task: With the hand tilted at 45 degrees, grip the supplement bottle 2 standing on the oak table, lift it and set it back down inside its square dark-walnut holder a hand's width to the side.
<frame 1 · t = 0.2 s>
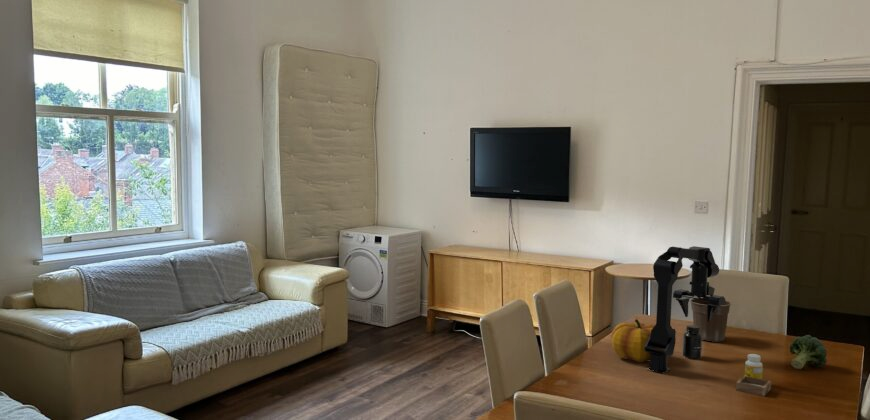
hand: (697, 319, 257), 14 cm above the table, tool pointing down, fingers open, 9 cm apart
decorative pumpkin: (638, 358, 255), on the table
supplement bottle 2: (753, 383, 227), on the table
plant pot: (708, 339, 283), on the table
vegetable: (806, 367, 245), on the table
walnut holder: (753, 389, 220), on the table
supplement bottle: (691, 357, 256), on the table
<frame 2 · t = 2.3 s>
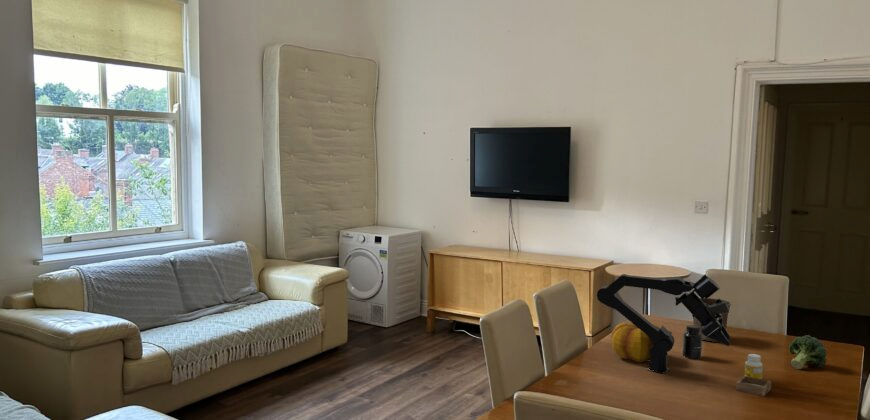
hand: (729, 341, 229), 13 cm above the table, tool tilted 45°, fingers open, 9 cm apart
nothing on the table moved.
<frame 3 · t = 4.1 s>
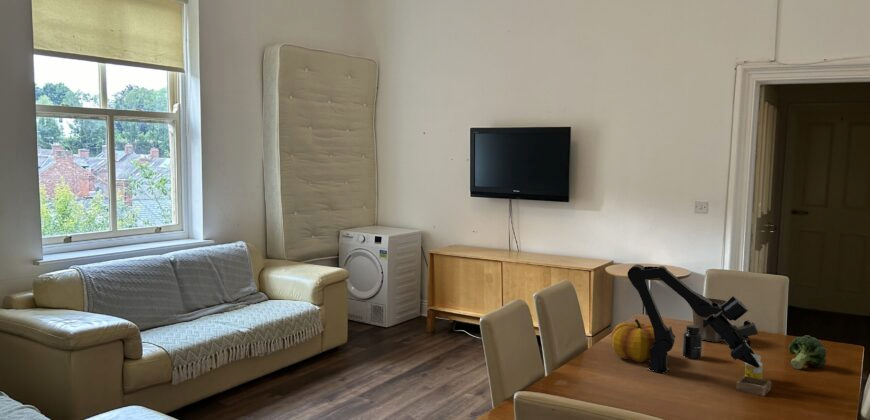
hand: (758, 364, 226), 7 cm above the table, tool tilted 45°, fingers closed on supplement bottle 2, 5 cm apart
supplement bottle 2: (753, 383, 227), on the table, touching gripper
everything else where it was.
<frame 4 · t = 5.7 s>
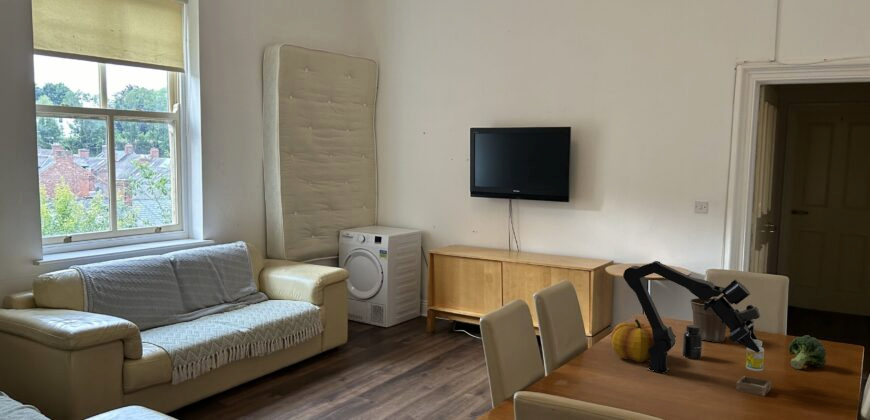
hand: (759, 349, 222), 13 cm above the table, tool tilted 45°, fingers closed on supplement bottle 2, 5 cm apart
supplement bottle 2: (754, 369, 223), point 6 cm above the table, touching gripper
everything else where it was.
when the fingers open (9 cm above the table, at t = 7.3 s): supplement bottle 2 drops 1 cm, resting on walnut holder.
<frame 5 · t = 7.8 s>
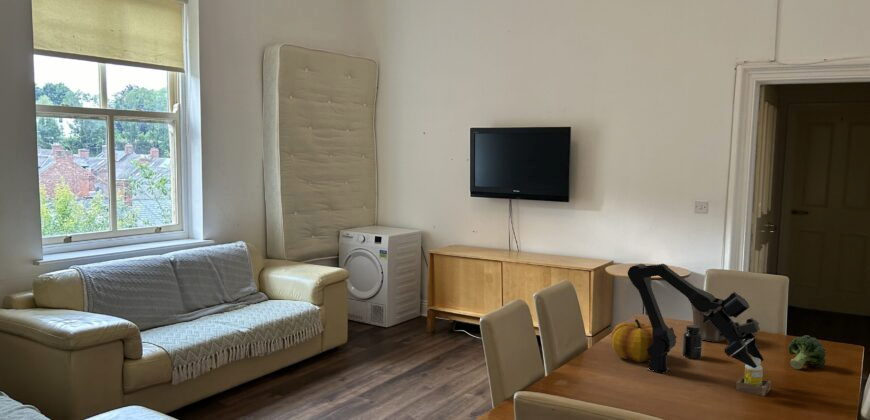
hand: (759, 364, 218), 9 cm above the table, tool tilted 45°, fingers open, 9 cm apart
supplement bottle 2: (752, 387, 220), point 1 cm above the table, touching walnut holder
everything else where it was.
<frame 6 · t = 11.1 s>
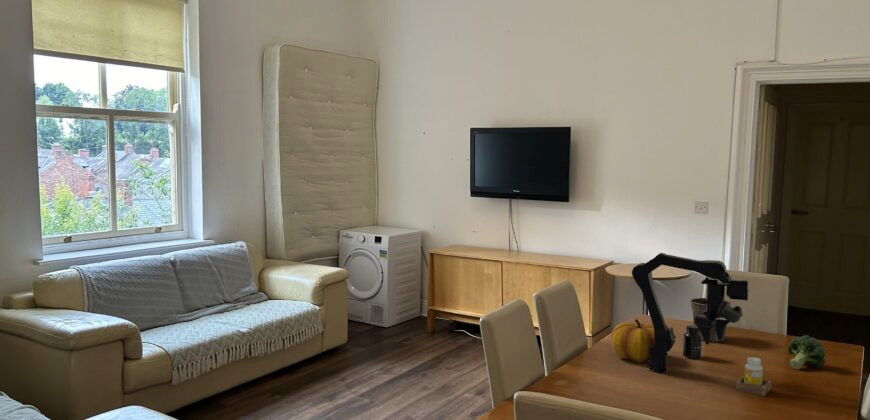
hand: (713, 341, 230), 13 cm above the table, tool pointing down, fingers open, 9 cm apart
nothing on the table moved.
at the end: supplement bottle 2 0.2 cm off-centre on the walnut holder, point 0.7 cm above the walnut holder's base; supplement bottle 2 tilted 0°; the gripper is holding nothing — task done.
